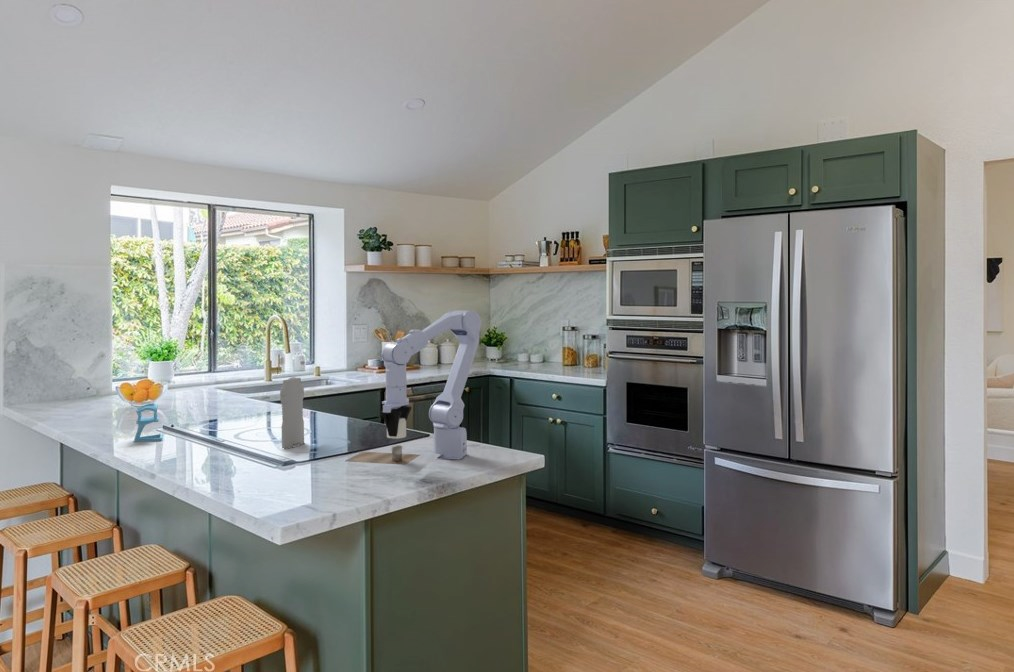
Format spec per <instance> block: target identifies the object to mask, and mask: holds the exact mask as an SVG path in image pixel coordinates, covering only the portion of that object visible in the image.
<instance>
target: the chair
mask: <svg viewBox="0 0 1014 672" xmlns="http://www.w3.org/2000/svg"><path fill="white" fill-rule="evenodd" d="M158 407H159V406H158V403H148V404H144V405H143V406H141V407H137V408H136V409H137V410H135V412H136V415H137V419H136V421H135V422H136V425H138V427H137V430H136V434H135V435H134V440H133V442H135V443H137V442H161V441H163V433H157V434H151V435H144V436H143V435H142V432H143V430H144V428H145V426H147V425H149V424H153V423H159V419H160V417H159V415H158ZM145 411H150V412H153V416H151V417H142V416H143V415H142V412H145ZM141 435H142V436H141Z"/></svg>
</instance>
